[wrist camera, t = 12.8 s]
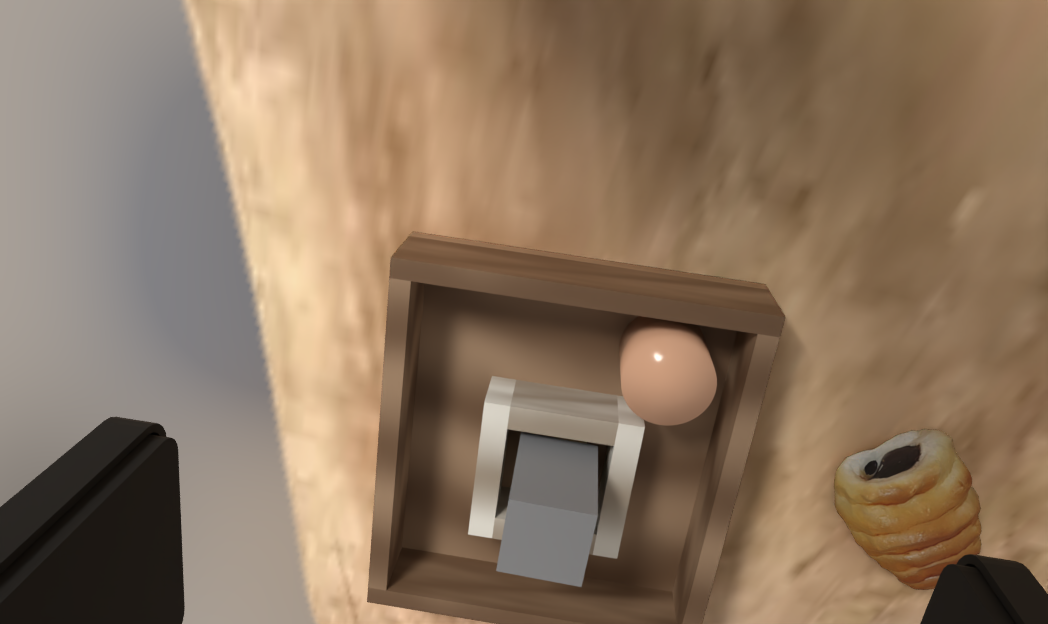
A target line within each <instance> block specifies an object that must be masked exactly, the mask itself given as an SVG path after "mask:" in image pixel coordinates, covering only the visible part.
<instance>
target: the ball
mask: <svg viewBox="0 0 1048 624" xmlns="http://www.w3.org/2000/svg"><path fill="white" fill-rule="evenodd" d="M619 359H620V375H621V389H622V394H623V397H624V399H625V401H626V403H627V405H628V406H629V408H630V409H631V410H632V411H633V412H634V413H635V414H636V415H637V416H639V417H640V418H642V419H644V420H646V421H648V422H650V423H653V424H658V425H665V426H668V425H679V424H683V423H686V422H688V421H691V420H693V419H695V418H696V417H698V416H699V415H700V414H702V413H703V412H704V411H705V410H706V409H707V408H708V406H709V405H710V403H711V402H712V400H713V398H714V395H715V392H716V387H717V377H716V372H715V368H714V365H713V362H712V359H711V356H710V353H709V350H708V347H707V344H706V341H705V338H704V335H703V333H702V330H701V329H700V327H699V326H698V325H695V324H689V323H682V322H675V321H669V320H662V319H656V318H649V317H643V316H638V317H637V318H635V319H634V320H633V321H632V322H631V323H630V324H629V325H628V326H627V327H626V329H625V330H624V332H623V334H622V336H621V339H620V343H619Z"/></svg>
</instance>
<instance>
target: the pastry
mask: <svg viewBox="0 0 1048 624" xmlns="http://www.w3.org/2000/svg"><path fill="white" fill-rule="evenodd" d="M971 484H972V478H971V475H970V472H969V470H968V469H967V467H966V466H965V464H964V463H963V462H962V460H961V459H960V458H959V456H958V455H957V453H956V451H955V449H954V447H953V441H952V438H951V437H950V436H948V435H947V434H946V433H944V432H942V431H938V430H927V429H922V430H920V431H914V430H912V431H909V432H906V433H903V434H899V435H896V436H895V437H893V438H892V439H890V440H888V441H886V442H884V443H883V444H881V445H880V446H878V447H877V448H876V449H873V450H866V451H862V452H859V453H856V454H854V455H851V456H849V457H847V458H846V459H845V460H844V461H843V462H842V463H841V465H840V466H839V467H838V469H837V471H836V475H835V480H834V489H835V507H836V510H837V512H838V514H839V515H840V516H841V517H842V519H843V520H844V521H845V522H846V525H847V527H848V528H849V529H850V531H851V533H852V535H853V537H854V539H855V541H856V543H857V544H858V545H860V546H861V547H862V548H863V549H864V550H865V552H866V553H867V554H868V555H869V556H870V557H871V558H873V559H874V560H876V561H877V562H878V563H879V564H880V566H881V567H883V568H885V569H887V570H889V571H891V572H892V573H893V574H894V575H895V576H896V577H897V578H898V580H899V581H901V582H902V583H904V584H906V585H908V586H910V587H912V588H914V589H921V590H926V589H933V588H935V586H936V584H937V581H938V579H939V576H940V574H941V572H942V570H943V569H944V567H946V566H947V565H949V564H957V562H958V560H959V559H960V558H962V557H963V556H964V555H968V554H973V555H977V554H979V553H980V549H981V540H980V538H979V535H980V533H981V524H980V521H979V518H978V513H979V511H980V504H979V497H978V495H977V493H976V491H975V490H974V488H973V487H971Z"/></svg>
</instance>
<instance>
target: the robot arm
mask: <svg viewBox="0 0 1048 624" xmlns="http://www.w3.org/2000/svg"><path fill="white" fill-rule="evenodd" d="M180 511H181V510H180V485H179V461H178V446H177V443H176V441H175V440H174V439H173V438H169V437H166V432H165V430H164V428H163V427H162V426H161V425H160V424H157V423H151V422H145V421H139V420H133V419H126V418H120V417H110V418H108V419H107V420H105V421H104V422H102V423H101V424H100V425H99V426H98V427H96V428H95V429H94V430H93V431H92V432H90V433H89V434H88V435H87V436H85V437H84V438H83V439H82V440H81V441H79V442H78V443H77V444H76V445H75V446H73V447H72V448H71V449H70V450H69V451H68V452H66V453H65V454H64V455H63V456H61V457H60V458H59V459H58V460H57V461H56V462H54V463H53V464H52V465H51V466H49V467H48V468H47V469H46V470H45V471H43V472H42V473H41V474H40V475H38V476H37V477H36V478H35V479H34V480H33V481H31V482H30V483H29V484H28V485H26V486H25V487H24V488H23V489H22V490H20V491H19V492H18V493H17V494H16V495H14V496H13V497H12V498H11V499H10V500H8V501H7V502H6V503H5V504H4V505H2V506H1V507H0V624H182V621H183V616H184V586H183V585H184V584H183V562H182V534H181V512H180ZM920 624H1048V594H1047V593H1046V591H1045V590H1044V589H1043V587H1042V586H1041V585H1040V584H1039V582H1038V581H1037V580H1036V578H1035V577H1034V576H1033V574H1032V573H1031V572H1030V571H1029V569H1027V568H1026V567H1025V566H1024V565H1023V564H1021V563H1019V562H1016V561H1010V560H1004V559H998V558H991V557H985V556H979V555H973V554H968V555H964V556H963V557H962V558H960V559H959V560H958V562H957V564H949V565H947V566H946V567H944V569H943V570H942V572H941V574H940V576H939V579H938V581H937V584H936V586H935V589H934V591H933V594H932V596H931V599H930V601H929V604H928V606H927V609H926V611H925V614H924V616H923V618H922V621H921V623H920Z"/></svg>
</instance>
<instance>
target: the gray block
mask: <svg viewBox="0 0 1048 624" xmlns="http://www.w3.org/2000/svg"><path fill="white" fill-rule="evenodd" d="M597 517H598V446H597V445H591V444H587V442H585V441H579V440H573V439H566V438H560V437H554V436H547V435H541V434H535V433H525V432H521V435H520V441H519V446H518V452H517V457H516V463H515V468H514V474H513V479H512V485H511V490H510V495H509V501H508V507H507V512H506V518H505V524H504V529H503V535H502V541H501V546H500V552H499V558H498V563H497V569H496V571H498V572H503V573H509V574H514V575H519V576H525V577H530V578H535V579H541V580H546V581H551V582H557V583H562V584H567V585H573V586H578V587H582V582H583V578H584V574H585V569H586V565H587V561H588V556H589V552H590V548H591V543H592V539H593V535H594V530H595V526H596V521H597Z"/></svg>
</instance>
